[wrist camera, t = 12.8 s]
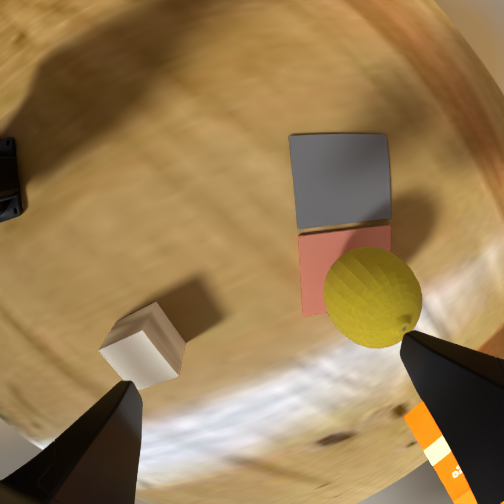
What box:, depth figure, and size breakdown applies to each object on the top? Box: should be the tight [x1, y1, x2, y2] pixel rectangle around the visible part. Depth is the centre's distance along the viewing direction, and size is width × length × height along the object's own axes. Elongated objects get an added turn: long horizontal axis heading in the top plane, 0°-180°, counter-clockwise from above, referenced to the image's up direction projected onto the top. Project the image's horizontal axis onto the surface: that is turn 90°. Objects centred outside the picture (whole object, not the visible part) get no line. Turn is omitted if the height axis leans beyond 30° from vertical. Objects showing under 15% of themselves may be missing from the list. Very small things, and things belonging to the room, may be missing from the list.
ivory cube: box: [99, 302, 186, 390], centre depth 18 cm, size 4×4×4 cm
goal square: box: [298, 225, 391, 317], centre depth 20 cm, size 7×6×1 cm
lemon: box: [324, 246, 422, 348], centre depth 16 cm, size 6×6×8 cm
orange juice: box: [404, 401, 504, 504], centre depth 17 cm, size 8×9×20 cm
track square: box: [288, 134, 391, 229], centre depth 18 cm, size 7×6×1 cm
